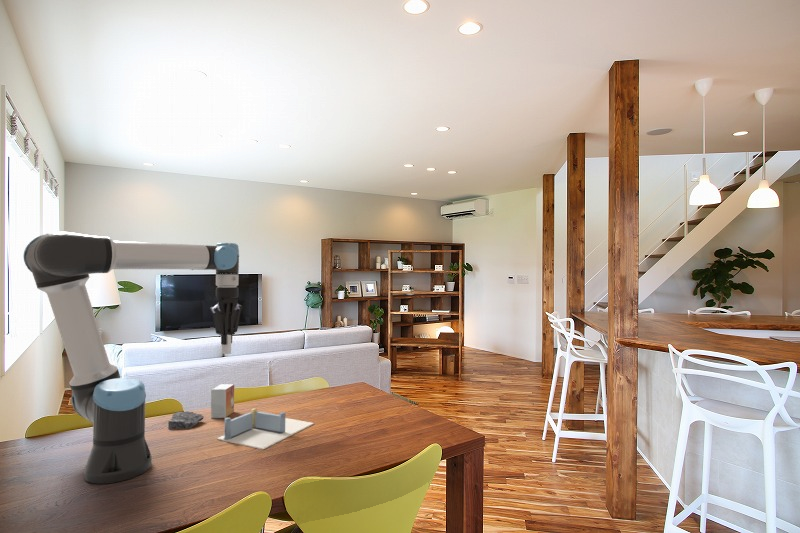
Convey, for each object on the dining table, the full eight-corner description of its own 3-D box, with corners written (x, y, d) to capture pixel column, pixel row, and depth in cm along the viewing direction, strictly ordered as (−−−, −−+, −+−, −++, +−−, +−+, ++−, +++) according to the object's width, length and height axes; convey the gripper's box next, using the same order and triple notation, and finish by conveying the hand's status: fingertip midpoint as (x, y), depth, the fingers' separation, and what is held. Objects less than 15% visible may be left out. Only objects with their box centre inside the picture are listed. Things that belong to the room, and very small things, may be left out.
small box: (225, 418, 160) (226, 389, 160) (210, 418, 160) (210, 389, 160) (234, 411, 168) (234, 383, 168) (219, 411, 168) (220, 383, 168)
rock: (196, 429, 149) (196, 417, 149) (165, 430, 149) (165, 417, 149) (204, 422, 157) (204, 410, 157) (175, 422, 156) (175, 410, 156)
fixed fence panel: (227, 441, 138) (227, 419, 138) (223, 440, 139) (223, 418, 139) (252, 430, 148) (252, 410, 148) (248, 429, 149) (248, 409, 149)
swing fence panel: (250, 426, 149) (250, 408, 149) (254, 425, 151) (254, 407, 151) (282, 432, 144) (283, 414, 144) (286, 430, 145) (286, 412, 145)
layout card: (263, 449, 132) (263, 448, 132) (216, 439, 140) (216, 437, 140) (313, 424, 154) (313, 422, 154) (271, 416, 162) (271, 415, 162)
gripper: (220, 287, 148) (219, 357, 148) (248, 286, 160) (248, 351, 160) (204, 287, 152) (203, 355, 151) (233, 286, 163) (232, 349, 163)
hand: (226, 353), depth 156 cm, fingers closed
